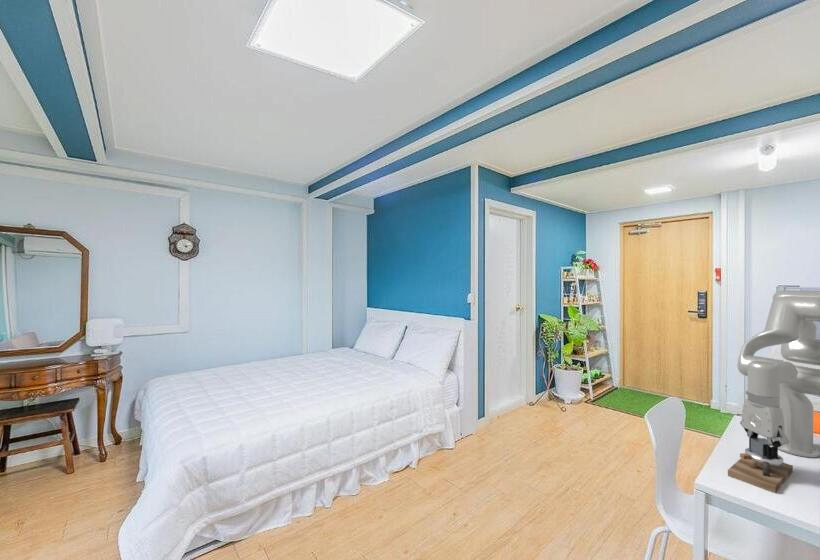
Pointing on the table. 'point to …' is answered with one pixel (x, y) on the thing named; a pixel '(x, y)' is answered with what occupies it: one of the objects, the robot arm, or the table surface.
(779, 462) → the flange plate
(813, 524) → the table surface
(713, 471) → the table surface
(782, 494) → the table surface
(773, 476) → the base board
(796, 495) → the table surface
